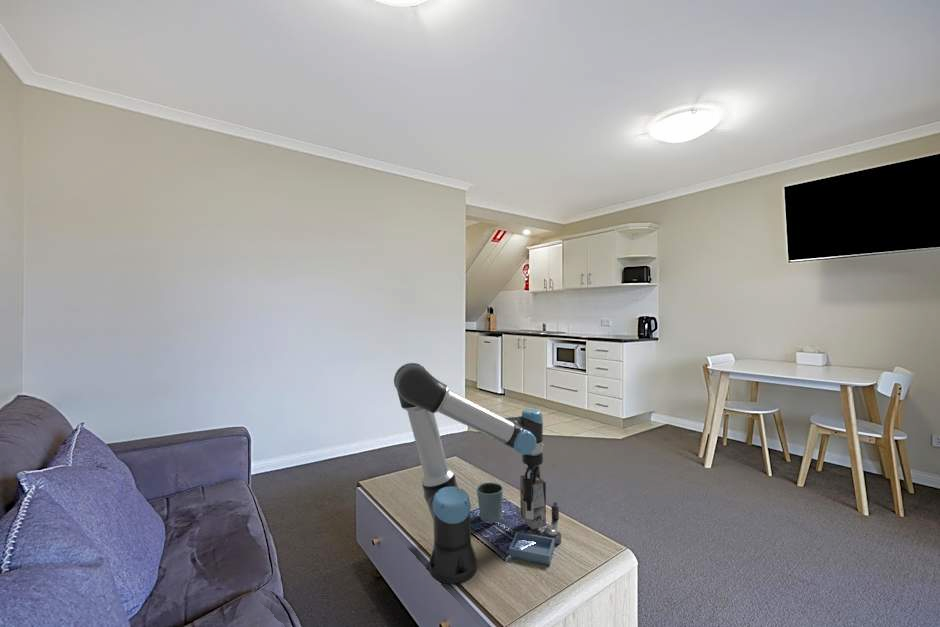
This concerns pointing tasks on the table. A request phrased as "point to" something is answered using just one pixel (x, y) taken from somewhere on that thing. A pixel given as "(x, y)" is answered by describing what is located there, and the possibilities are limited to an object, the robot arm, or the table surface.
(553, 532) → the crank
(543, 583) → the table surface
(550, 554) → the tray
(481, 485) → the green cup
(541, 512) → the coffee box
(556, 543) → the crank base
